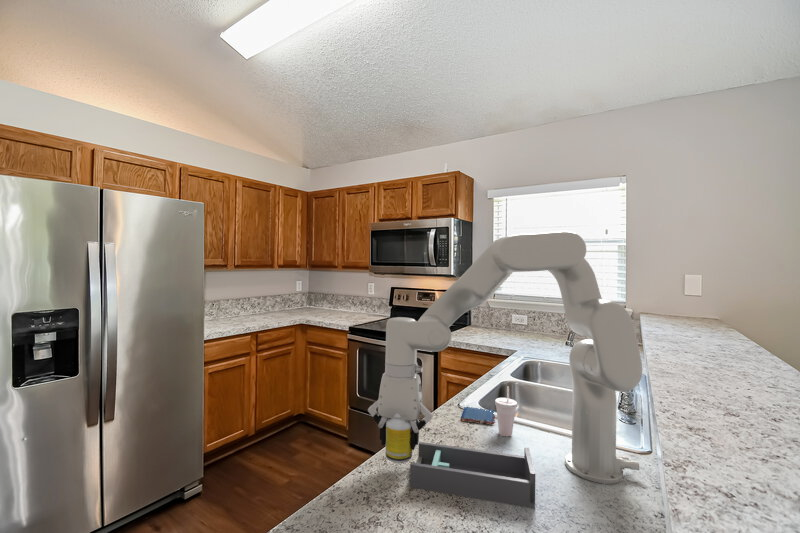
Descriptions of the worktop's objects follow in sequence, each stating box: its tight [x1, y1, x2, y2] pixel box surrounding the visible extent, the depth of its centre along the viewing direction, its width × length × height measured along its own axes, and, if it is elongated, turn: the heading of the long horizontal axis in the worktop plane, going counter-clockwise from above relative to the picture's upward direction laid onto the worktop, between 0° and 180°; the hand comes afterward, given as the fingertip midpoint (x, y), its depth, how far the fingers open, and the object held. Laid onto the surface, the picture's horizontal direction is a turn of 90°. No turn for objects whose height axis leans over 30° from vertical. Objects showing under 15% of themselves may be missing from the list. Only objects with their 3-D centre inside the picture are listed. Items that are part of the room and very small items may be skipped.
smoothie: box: [494, 386, 518, 438], centre depth 105 cm, size 6×6×14 cm
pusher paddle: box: [432, 450, 449, 468], centre depth 82 cm, size 4×8×3 cm, turn 166°
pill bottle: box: [384, 413, 413, 464], centre depth 84 cm, size 6×6×12 cm
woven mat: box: [460, 406, 496, 425], centre depth 117 cm, size 10×11×2 cm
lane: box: [409, 441, 536, 510], centre depth 80 cm, size 26×11×7 cm, turn 76°
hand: (398, 444), depth 84 cm, fingers closed on pill bottle, 6 cm apart
